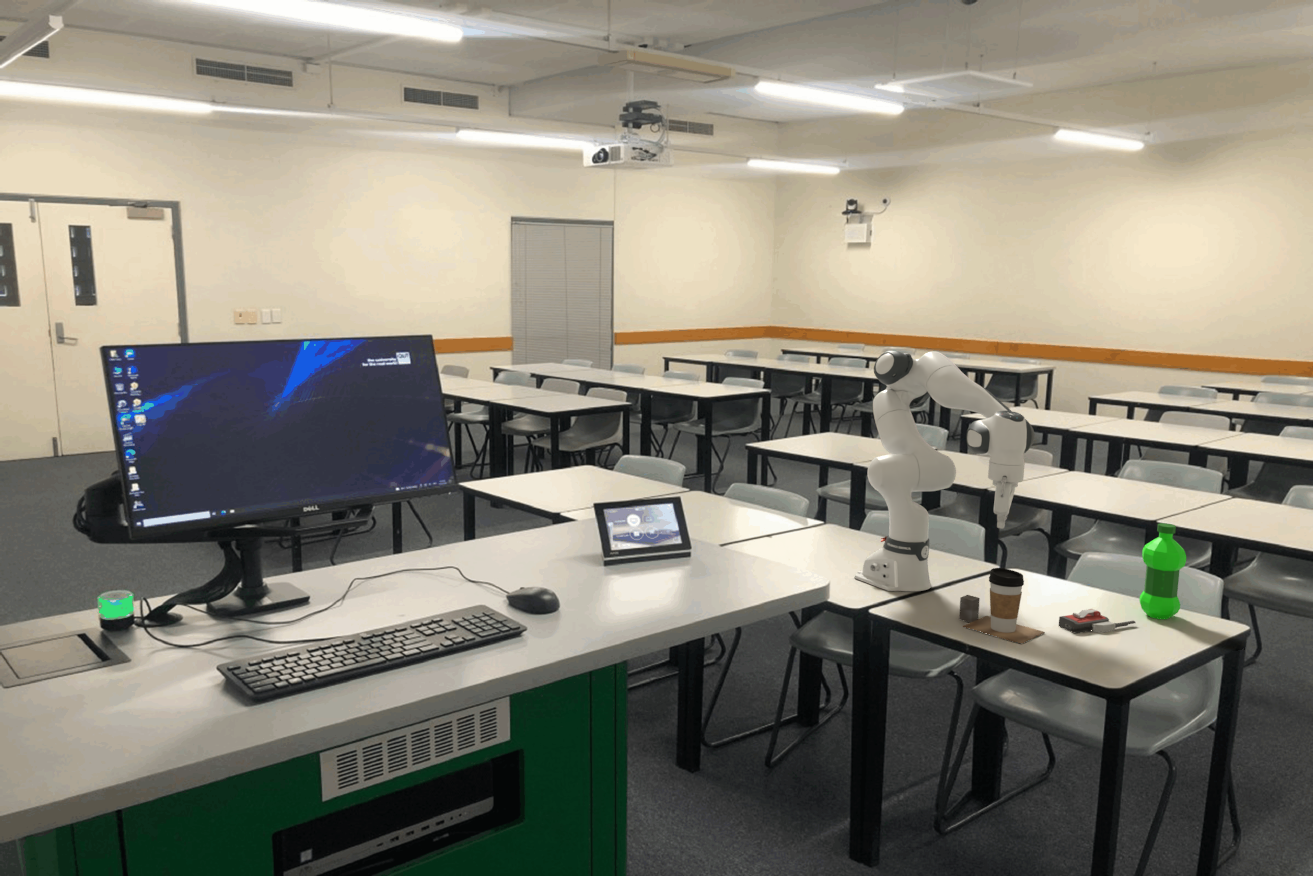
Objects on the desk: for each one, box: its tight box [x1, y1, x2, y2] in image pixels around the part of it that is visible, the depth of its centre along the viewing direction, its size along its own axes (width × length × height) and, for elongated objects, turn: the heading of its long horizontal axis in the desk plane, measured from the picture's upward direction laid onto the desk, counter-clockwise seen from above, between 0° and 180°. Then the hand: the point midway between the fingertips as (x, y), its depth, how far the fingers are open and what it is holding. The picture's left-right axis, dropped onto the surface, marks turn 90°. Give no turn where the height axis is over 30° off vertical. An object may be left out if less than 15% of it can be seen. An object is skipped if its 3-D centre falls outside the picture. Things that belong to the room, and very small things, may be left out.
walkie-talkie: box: [1058, 608, 1136, 634], centre depth 249 cm, size 9×4×20 cm
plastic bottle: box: [1138, 522, 1187, 620], centre depth 255 cm, size 10×10×25 cm
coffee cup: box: [988, 567, 1025, 633], centre depth 244 cm, size 8×8×15 cm
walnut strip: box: [958, 594, 1046, 644], centre depth 246 cm, size 20×12×6 cm, turn 42°
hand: (1002, 523), depth 257 cm, fingers open, 8 cm apart
